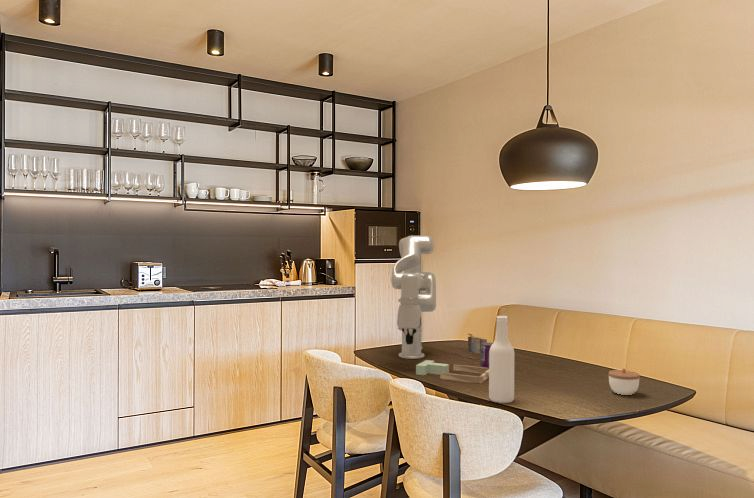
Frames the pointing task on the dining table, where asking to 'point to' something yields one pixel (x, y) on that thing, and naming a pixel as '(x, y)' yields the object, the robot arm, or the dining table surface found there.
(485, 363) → the beverage can
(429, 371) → the tee block
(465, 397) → the dining table surface
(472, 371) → the oak frame
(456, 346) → the dining table surface
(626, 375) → the lidded jar
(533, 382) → the dining table surface
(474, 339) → the ruin model on sheet
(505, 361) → the alcohol
